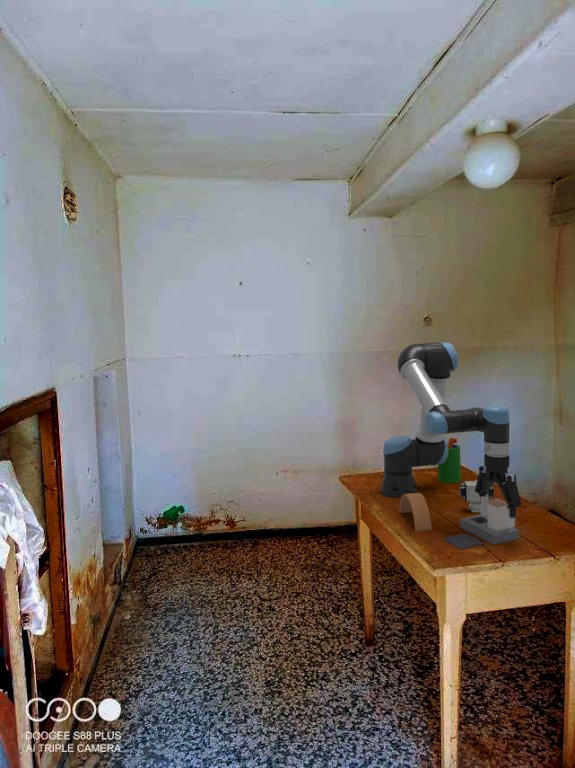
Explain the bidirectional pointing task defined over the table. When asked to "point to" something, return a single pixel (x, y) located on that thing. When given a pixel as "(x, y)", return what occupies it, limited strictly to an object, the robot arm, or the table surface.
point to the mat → (463, 541)
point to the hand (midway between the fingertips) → (497, 520)
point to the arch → (416, 510)
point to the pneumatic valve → (473, 495)
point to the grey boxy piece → (488, 530)
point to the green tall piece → (451, 464)
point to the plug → (496, 515)
